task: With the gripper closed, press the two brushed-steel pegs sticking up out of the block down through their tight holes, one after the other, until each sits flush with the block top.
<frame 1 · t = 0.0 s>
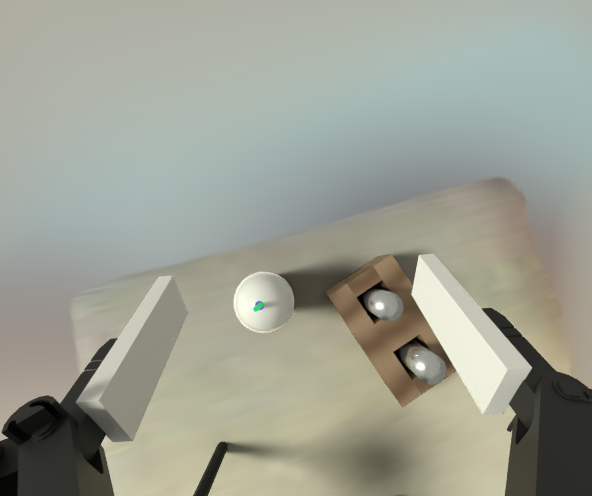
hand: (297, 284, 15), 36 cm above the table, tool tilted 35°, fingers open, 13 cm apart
smoothie: (274, 292, 51), on the table
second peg: (380, 302, 41), point 9 cm above the table, slide at 5.0 cm
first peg: (419, 359, 40), point 9 cm above the table, slide at 5.0 cm
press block: (381, 319, 49), on the table
solar garden light: (222, 446, 49), on the table
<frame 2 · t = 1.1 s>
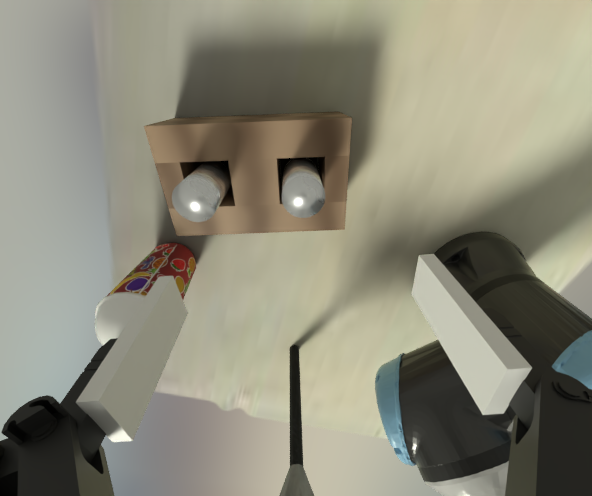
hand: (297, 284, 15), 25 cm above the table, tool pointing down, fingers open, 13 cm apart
smoothie: (177, 256, 43), on the table
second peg: (205, 188, 28), point 9 cm above the table, slide at 5.0 cm
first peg: (301, 184, 28), point 9 cm above the table, slide at 5.0 cm
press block: (261, 165, 36), on the table
solar garden light: (294, 347, 55), on the table
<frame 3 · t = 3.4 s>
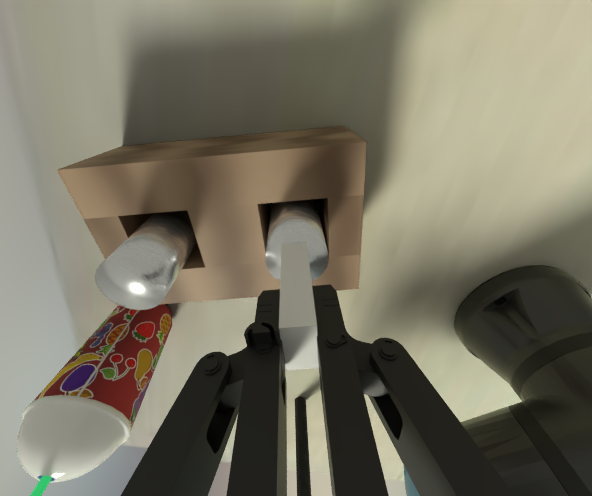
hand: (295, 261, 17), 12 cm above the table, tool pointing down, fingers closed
smoothie: (149, 310, 35), on the table
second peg: (158, 251, 19), point 9 cm above the table, slide at 5.0 cm
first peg: (295, 231, 20), point 8 cm above the table, slide at 3.7 cm, touching gripper
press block: (244, 199, 27), on the table
solar garden light: (300, 398, 46), on the table
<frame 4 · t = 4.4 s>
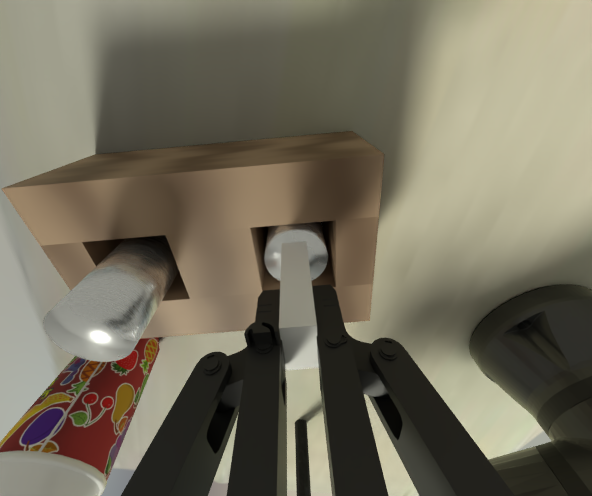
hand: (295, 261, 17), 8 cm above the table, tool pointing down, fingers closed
smoothie: (134, 332, 32), on the table
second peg: (130, 284, 16), point 9 cm above the table, slide at 5.0 cm
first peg: (294, 231, 20), point 4 cm above the table, slide at 0.0 cm, touching gripper
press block: (237, 214, 24), on the table
solar garden light: (300, 421, 43), on the table
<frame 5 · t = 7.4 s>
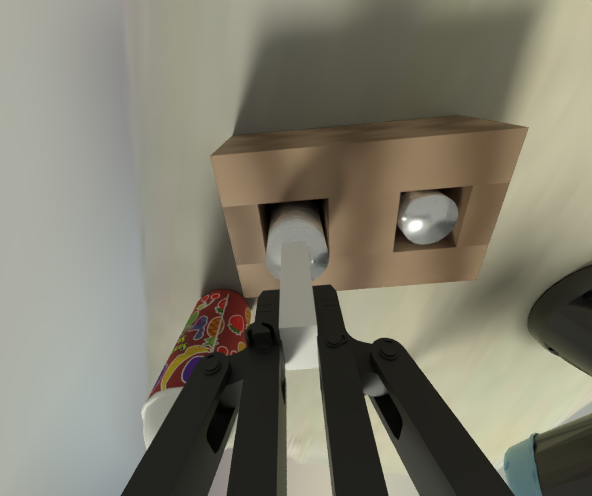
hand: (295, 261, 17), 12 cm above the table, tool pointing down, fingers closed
smoothie: (225, 304, 35), on the table
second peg: (295, 231, 20), point 8 cm above the table, slide at 3.7 cm, touching gripper
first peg: (410, 201, 23), point 4 cm above the table, slide at 0.0 cm
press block: (343, 190, 27), on the table
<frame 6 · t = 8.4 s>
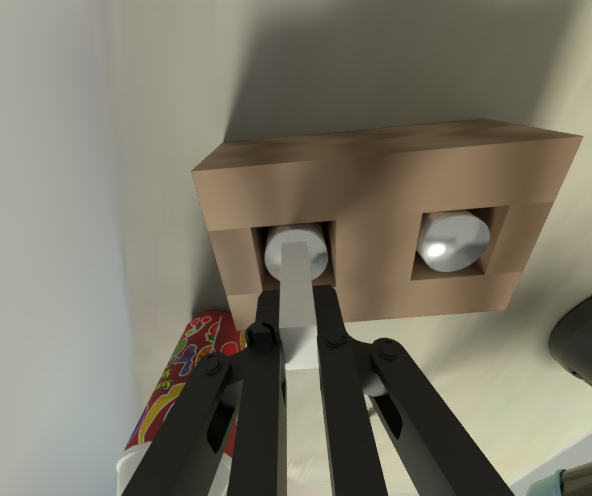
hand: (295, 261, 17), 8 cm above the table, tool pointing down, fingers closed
smoothie: (218, 326, 31), on the table
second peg: (294, 230, 20), point 4 cm above the table, slide at 0.0 cm, touching gripper
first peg: (428, 219, 20), point 4 cm above the table, slide at 0.0 cm
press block: (350, 204, 24), on the table
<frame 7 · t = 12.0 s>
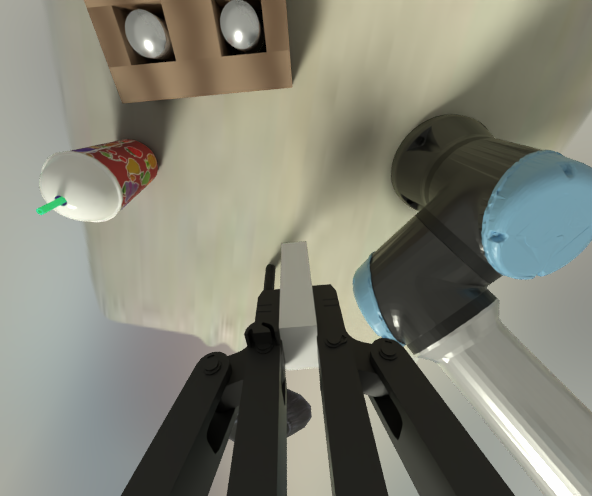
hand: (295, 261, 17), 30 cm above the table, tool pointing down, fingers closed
smoothie: (139, 160, 43), on the table
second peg: (160, 39, 31), point 4 cm above the table, slide at 0.0 cm
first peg: (244, 31, 31), point 4 cm above the table, slide at 0.0 cm
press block: (210, 40, 35), on the table
solar garden light: (270, 267, 54), on the table
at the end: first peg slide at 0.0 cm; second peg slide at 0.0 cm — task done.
